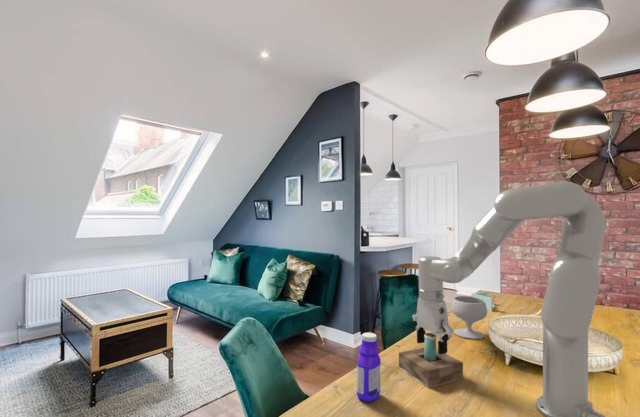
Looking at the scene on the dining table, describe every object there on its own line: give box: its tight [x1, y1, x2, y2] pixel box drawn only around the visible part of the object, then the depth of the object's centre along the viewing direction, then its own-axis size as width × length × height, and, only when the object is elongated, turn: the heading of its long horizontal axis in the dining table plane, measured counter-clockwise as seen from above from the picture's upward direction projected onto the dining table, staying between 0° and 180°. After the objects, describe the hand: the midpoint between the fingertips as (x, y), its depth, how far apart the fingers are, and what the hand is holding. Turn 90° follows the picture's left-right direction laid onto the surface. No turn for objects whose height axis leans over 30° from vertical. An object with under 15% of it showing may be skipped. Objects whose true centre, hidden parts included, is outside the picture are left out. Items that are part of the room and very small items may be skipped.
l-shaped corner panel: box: [471, 290, 496, 310], centre depth 186 cm, size 12×12×8 cm
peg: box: [423, 332, 437, 362], centre depth 109 cm, size 4×4×12 cm
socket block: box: [397, 347, 465, 389], centre depth 109 cm, size 14×14×5 cm
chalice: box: [451, 295, 488, 340], centre depth 143 cm, size 14×14×15 cm
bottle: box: [356, 332, 382, 403], centre depth 94 cm, size 7×6×17 cm
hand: (431, 347), depth 108 cm, fingers open, 9 cm apart
